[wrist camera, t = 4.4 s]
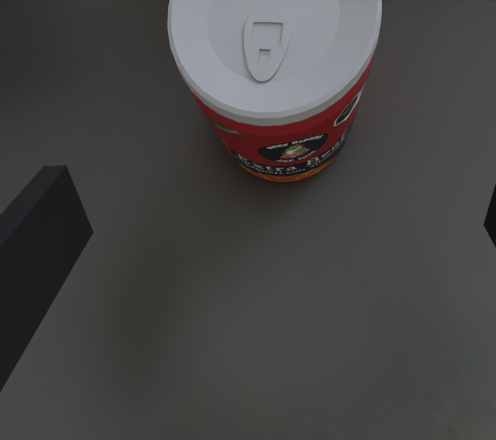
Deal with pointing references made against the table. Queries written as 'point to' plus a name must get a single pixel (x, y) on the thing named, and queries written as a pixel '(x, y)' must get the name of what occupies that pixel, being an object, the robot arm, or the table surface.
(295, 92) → the canned food
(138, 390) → the table surface
